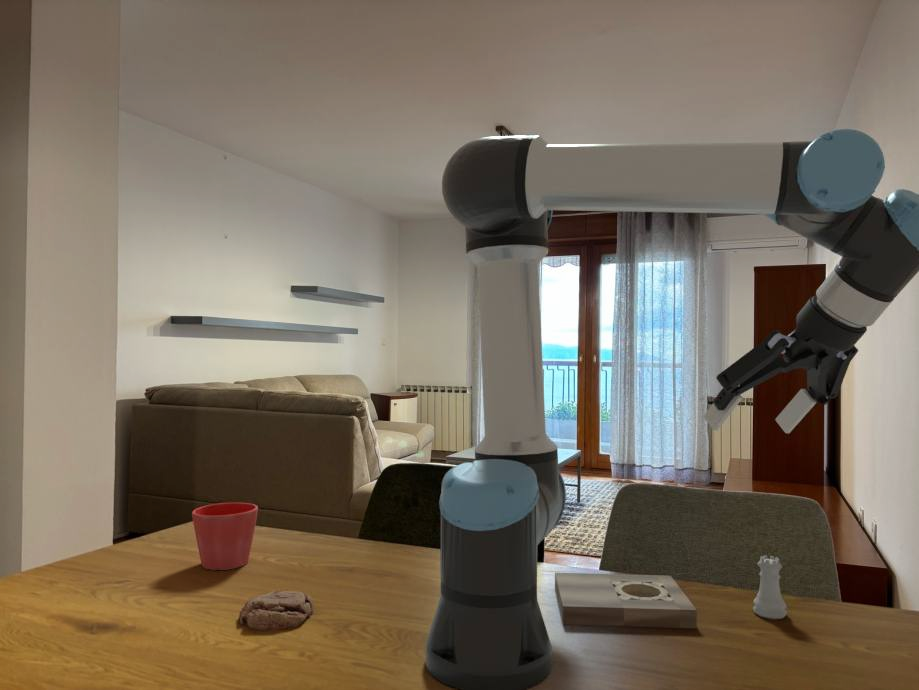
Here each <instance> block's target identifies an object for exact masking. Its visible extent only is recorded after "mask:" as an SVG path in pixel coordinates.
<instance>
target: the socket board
mask: <svg viewBox="0 0 919 690" xmlns="http://www.w3.org/2000/svg"><path fill="white" fill-rule="evenodd" d="M554 591H555V596H556V599H557V604H558V609H559V613H560V618H561V621H562V625H570V626H573V625H574V626H601V627H602V626H603V627H604V626H605V627H606V626H607V627H611V626H612V627H629V628H630V627H635V628H636V627H637V628H663V629H664V628H665V629H667V628H669V629H670V628H671V629H696V630H697V627H698V625H697V624H698V623H697V622H698V621H697V620H698V616H697V615H698V614H697V613H698V610H697V608H696V607H695V606H694V605H693V603H692V602H691V600H690V599H689V598H688V596H687V595H686V594H685V593H684V591H683V590H682V589H681V587H680V586H679V584H678V583H677V582H676V581H675V580H674V579H673V577H672V576H671V575H664V574H663V575H660V574H659V575H657V574H624V573H622V574H620V573H619V574H618V573H588V572H587V573H583V572H582V573H580V572H554Z"/></svg>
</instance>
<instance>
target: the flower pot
mask: <svg viewBox="0 0 919 690" xmlns="http://www.w3.org/2000/svg"><path fill="white" fill-rule="evenodd" d="M258 511H259V507H258V505H256V504H254V503H249V502H221V503H220V502H219V503H213V504H208V505H204V506H200V507H197V508H195V509H194V510H193V511H192V512H191V516H192V517H191V518H192V522H193V523H192V524H193V527H194V533H195V539H196V543H197V549H198V553H199V558H200V559H199V560H200V563H201V566H202V568H204V569H205V570H209V569H210V571H217V570H219V571H226V570H233V569H237V568H239V567H240V568H241V567H243V566H245V565H246V564H247V563H248V562H249V560H250V555H251V550H252V545H253V541H254V535H255V530H256V524H257V519H258Z"/></svg>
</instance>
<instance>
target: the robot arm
mask: <svg viewBox="0 0 919 690" xmlns="http://www.w3.org/2000/svg"><path fill="white" fill-rule="evenodd" d="M882 150H883V149H882V148H881V147H880V144H878V142H877V141H876V140H875V139H874V138H873V137H871V136H870V135H868V134H867V133H865V132H863V131H860V130H856V129H849V128H841V129H836V130H835V129H834V130H831V131H829V132H826V133H823V134H822V135H820V136H819V137H816V138H815V139H813V140H811V141H807V140H806V141H782V142H781V141H780V142H779V141H778V142H701V143H700V142H699V143H698V142H697V143H695V142H694V143H693V142H691V143H689V142H687V143H686V142H685V143H684V142H683V143H677V142H676V143H675V142H674V143H609V144H608V143H592V144H591V143H589V144H587V143H586V144H582V143H581V144H580V143H575V144H549V143H548V142H547V141H546V140H545V139H544V138H543V137H542V136H541V135H509V136H508V135H505V136H504V135H502V136H501V135H500V136H487V137H480V138H477V139H474V140H473V139H472V140H470V141H469V142H467V143H465V144H464V145H462V146H461V147H459V148H458V149H457V150H456V151H455V152H454V153H453V154H452V156H451V157H450V158H449V159H448V162H447V163H446V165H445V168H444V171H443V174H442V179H441V192H442V193H441V194H442V197H443V201H444V203H445V206H446V208H447V210H448V211H449V213H450V214H451V216H452V217H453V218H454V219H455V220H456V221H458V222H459V223H460V224H461V225H463V226H464V231H465V232H464V233H465V234H464V235H465V236H464V237H465V255H466V258H467V259H468V260H469V261H470V262H471V263H472V264H473V265H474V266H475V267H476V268H477V283H478V284H477V285H478V308H479V312H478V313H479V329H480V354H481V355H480V356H481V376H482V378H481V379H482V397H483V398H482V400H483V421H484V422H483V424H484V435H483V438H482V439H481V441H480V442H479V443H478V444H476V446H475V447H474V460H473V461H472V462H469V461H468V462H464V463H463V462H462V463H460V464H458V465H455V466H453V467H451V468H450V469H449V470H448V471H447V472H446V473H445V474H444V476H443V478H442V481H441V489H440V491H441V493H440V495H439V500H438V501H439V502H438V505H439V510H440V512H439V513H440V519H439V520H440V523H439V525H440V526H439V527H440V534H439V535H440V538H439V539H440V547H439V548H440V550H439V551H440V552H439V553H440V558H439V559H440V593H439V595H440V597H439V600H438V604H437V607H436V610H435V614H434V615H433V619H432V622H431V626H430V627H429V632H428V634H427V636H426V637H427V638H426V642H425V666H426V670H427V671H428V672H429V674H430V675H431V676H433V678H435V679H436V680H438V681H439V682H441V683H443V684H445V685H448V686H450V687H453V688H456V689H459V690H524V689H527V688H530V687H532V686H535V685H537V684H538V683H540V682H542V681H543V680H545V679H546V678H547V676H549V674H550V672H551V670H552V668H553V667H552V661H553V657H552V655H553V654H552V653H553V652H552V650H553V649H552V643H551V640H550V637H549V633H548V631H547V627H546V623H545V620H544V618H543V615H542V612H541V608H540V604H539V602H538V601H539V600H538V545H540V544H541V542H542V541H543V540H544V539H545V538H547V536H548V535H549V534H551V532H552V531H553V530H554V529H555V528H556V527H557V525H558V524H559V522H560V521H561V519H562V516H563V514H564V510H565V506H566V501H567V489H566V485H565V482H564V481H565V480H564V478H563V476H562V474H561V472H560V471H559V454H558V445H557V443H555V442H554V441H553V440H552V439H551V438H550V437H549V436H548V435H547V433H546V430H547V429H546V409H545V388H544V370H543V368H544V365H543V364H544V363H543V349H542V348H543V343H542V325H541V324H542V323H541V302H540V301H541V300H540V283H539V282H540V279H539V278H540V277H539V264H540V263H541V262H542V260H543V259H544V258H545V257H546V256H547V255H548V254H549V236H548V232H549V231H548V229H549V227H550V224H551V222H552V217H553V212H554V211H579V212H580V211H581V212H582V211H583V212H585V211H586V212H631V213H633V212H636V213H637V212H639V213H640V212H642V213H643V212H644V213H691V214H692V213H694V214H697V213H698V214H700V213H701V214H702V213H703V214H707V213H708V214H744V215H745V214H746V215H747V214H750V215H751V214H753V215H754V214H755V215H758V214H759V215H764V216H765V217H766V218H768V219H769V220H772V221H773V222H774V223H775V224H776V225H778V226H779V227H780V226H782V227H784V228H785V229H788V230H790V231H792V232H794V233H796V234H798V235H800V236H801V237H803V238H805V239H807V240H810V241H811V242H813V243H816V244H818V245H819V246H821V247H823V248H825V249H827V250H829V251H830V252H831V253H834V254H836V255H838V256H839V257H841V258H840V259H839V260H838V262H837V263H836V265H835V266H834V268H833V269H832V271H831V272H830V273H829V275H828V276H827V277H825V279H824V281H823V282H822V284H821V285H820V286H819V287H818V288H817V289H816V292H815V295H814V296H811V297H810V298H809V299H808V300H807V302H806V303H805V305H804V306H803V307H802V308H801V310H800V311H799V312H798V313H797V315H796V317H795V320H796V328H795V329H794V330H793V331H792V332H791V333H789V334H788V335H784V334H782V333H781V332H780V331H779V330H778V329H773V330H772V331H770V332H769V333H768V334H767V336H766V337H765V338H764V339H763V340H762V341H761V342H760V343H758V344H757V345H756V346H754V347H753V348H752V349H751V350H749V351H748V352H746V353H745V354H744V355H743V356H741V357H740V358H738V359H737V360H736V361H734V363H732V364H730V365H729V366H727V367H726V368H725V369H724V370H722V371H721V372H720V373H718V374H717V375H716V377H715V379H716V380H717V382H718V383H719V384H720V386H721V387H722V389H721V390H720V391H719V392H718V394H717V395H716V397H715V398H714V399H713V400H712V404H711V405H710V407H709V408H708V409H707V411H706V412H705V413H704V415H703V418H704V419H705V421H706V422H707V425H708V426H709V427H710V428H711V431H716V432H718V430H719V429H720V428H721V427H722V425H723V424H724V423H725V422H726V420H727V419H728V417H730V415H731V414H732V412H734V410H735V409H736V408H737V406H738V405H739V404H740V402H741V401H742V400H743V398H744V397H743V396H742V394H744V393H746V392H747V391H749V390H752V389H753V388H755V387H757V386H758V385H761V383H764V382H766V381H767V380H769V379H771V378H773V377H774V376H777V375H778V374H780V373H783V374H785V373H789V372H791V371H792V370H801V369H802V370H805V371H806V375H807V376H806V378H807V379H806V381H807V382H806V384H807V385H806V387H807V390H808V391H807V390H806V388H800V390H799V391H798V392H797V393H796V394H795V396H794V397H793V398H792V399H791V400H790V401H789V402H788V404H786V406H785V407H784V408H783V409H782V411H781V412H780V413H779V414H778V415H777V416H776V418H775V419H774V421H776V423H777V424H778V425H779V427H780V428H781V429H782V431H783V432H784V433H785V434H790V433H791V432H792V431H793V430H794V429H795V427H797V425H799V423H800V422H801V421H802V420H803V418H805V416H806V415H807V414H808V413H809V412H810V411H811V409H813V408H814V406H815V405H816V404H817V403H819V404H820V406H825V405H827V404H828V403H829V402H830V400H831V399H835V398H836V397H838V394H839V393H840V390H841V387H842V385H843V382H844V378H845V376H846V374H847V372H848V370H849V369H848V368H849V366H850V364H851V362H852V360H853V359H854V358H855V356H856V355H857V353H858V352H859V349H858V348H857V347H856V346H855V345H856V344H857V343H858V341H859V340H861V338H862V337H863V336H864V334H865V333H866V332H867V330H868V328H867V327H872V326H873V325H874V324H875V323H876V321H877V320H878V319H879V318H880V317H881V316H882V314H883V313H884V311H886V309H888V307H889V306H891V304H892V302H893V301H894V299H895V298H896V297H897V296H898V295H899V294H900V293H901V291H903V290H904V288H905V287H906V286H907V285H908V284H909V283H910V281H911V280H912V279H913V278H914V277H915V276H916V275H917V274H918V273H919V193H915V192H914V191H912V190H909V189H904V188H903V189H902V188H901V189H896V190H894V191H893V192H891V193H890V194H889V196H887V197H886V198H884V199H881V198H880V197H876V196H874V193H875V192H876V189H877V188H878V186H879V184H880V182H881V181H882V179H883V175H884V173H885V168H886V166H885V165H886V163H885V157H884V153H883V151H882ZM780 355H782V357H781V356H780ZM782 358H783V359H782ZM828 398H829V399H830V400H829V399H828Z"/></svg>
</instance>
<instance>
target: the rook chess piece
mask: <svg viewBox="0 0 919 690" xmlns="http://www.w3.org/2000/svg"><path fill="white" fill-rule="evenodd" d="M756 563H757V565H758V567H759V569H760V572H759V573H758V575H759V576H760V583H759V587H758V588H759V589H758V592H757V594H756V597H755V598H754V600H753V604H754V606H753V607H752V609H753V611H754V613H755V614H756V615H757V616H758V617H760V618H764V619H768V620H782V619H784V618H785V617H786V615H788V612H787V611H786V609H787V608H788V607H787V604H786V602H785V601H784V598H783V596H782V594H781V587H780V579H781V575H780V570H781V569H782V568H783V565H782V564H781V563H780V558H779V557H775V556H772V555H770V556H769V558H768V555H763V556H759V561H758V562H756Z"/></svg>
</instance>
